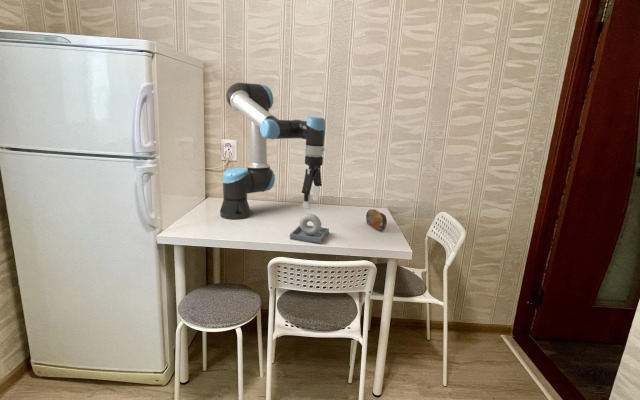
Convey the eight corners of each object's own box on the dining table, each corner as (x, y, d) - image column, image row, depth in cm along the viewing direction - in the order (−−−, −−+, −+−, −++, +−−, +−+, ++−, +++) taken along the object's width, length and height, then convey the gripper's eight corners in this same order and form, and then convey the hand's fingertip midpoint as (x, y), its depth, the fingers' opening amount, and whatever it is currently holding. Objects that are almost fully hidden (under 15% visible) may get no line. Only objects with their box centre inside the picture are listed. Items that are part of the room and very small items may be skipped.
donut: (297, 234, 150) (298, 213, 148) (300, 232, 154) (301, 211, 151) (319, 238, 148) (320, 216, 145) (321, 235, 151) (323, 214, 149)
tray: (289, 239, 146) (290, 234, 146) (300, 229, 159) (300, 224, 159) (320, 244, 143) (320, 239, 142) (328, 233, 156) (328, 228, 155)
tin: (364, 222, 173) (366, 207, 171) (370, 222, 175) (371, 206, 172) (381, 233, 160) (383, 216, 158) (386, 232, 161) (388, 215, 159)
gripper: (314, 160, 129) (310, 213, 135) (330, 152, 152) (326, 198, 158) (295, 158, 131) (293, 210, 137) (314, 151, 154) (311, 196, 160)
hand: (311, 204), depth 147 cm, fingers open, 13 cm apart
